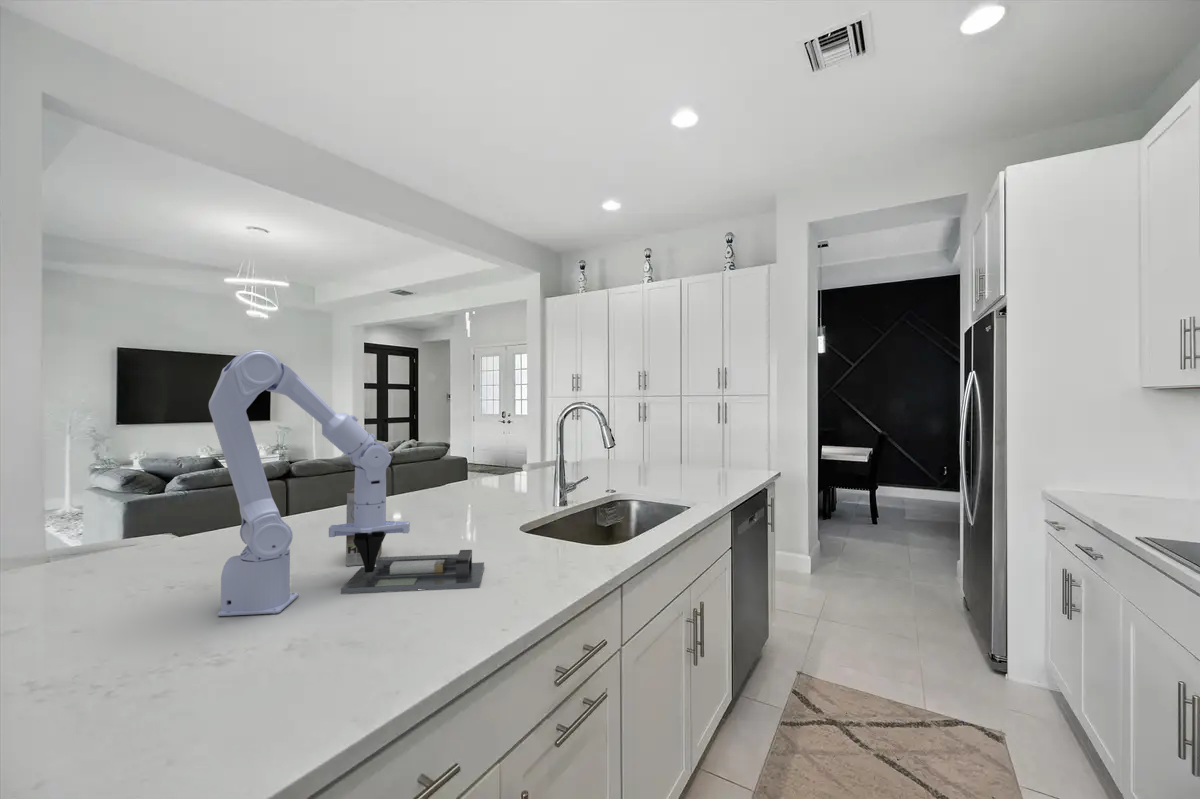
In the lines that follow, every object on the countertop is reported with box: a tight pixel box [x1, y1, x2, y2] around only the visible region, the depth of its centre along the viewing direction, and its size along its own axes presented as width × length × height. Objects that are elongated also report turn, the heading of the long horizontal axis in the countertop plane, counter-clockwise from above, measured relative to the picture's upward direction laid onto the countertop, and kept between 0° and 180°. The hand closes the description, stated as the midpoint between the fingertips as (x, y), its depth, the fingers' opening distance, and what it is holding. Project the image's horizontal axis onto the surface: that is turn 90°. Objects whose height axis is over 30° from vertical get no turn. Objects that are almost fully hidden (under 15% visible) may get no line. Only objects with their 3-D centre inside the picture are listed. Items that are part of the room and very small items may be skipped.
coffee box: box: [345, 485, 383, 567], centre depth 114 cm, size 9×6×16 cm
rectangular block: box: [390, 560, 445, 576], centre depth 102 cm, size 10×3×2 cm, turn 99°
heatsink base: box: [340, 549, 485, 595], centre depth 102 cm, size 25×12×5 cm, turn 98°
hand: (369, 570), depth 100 cm, fingers closed
